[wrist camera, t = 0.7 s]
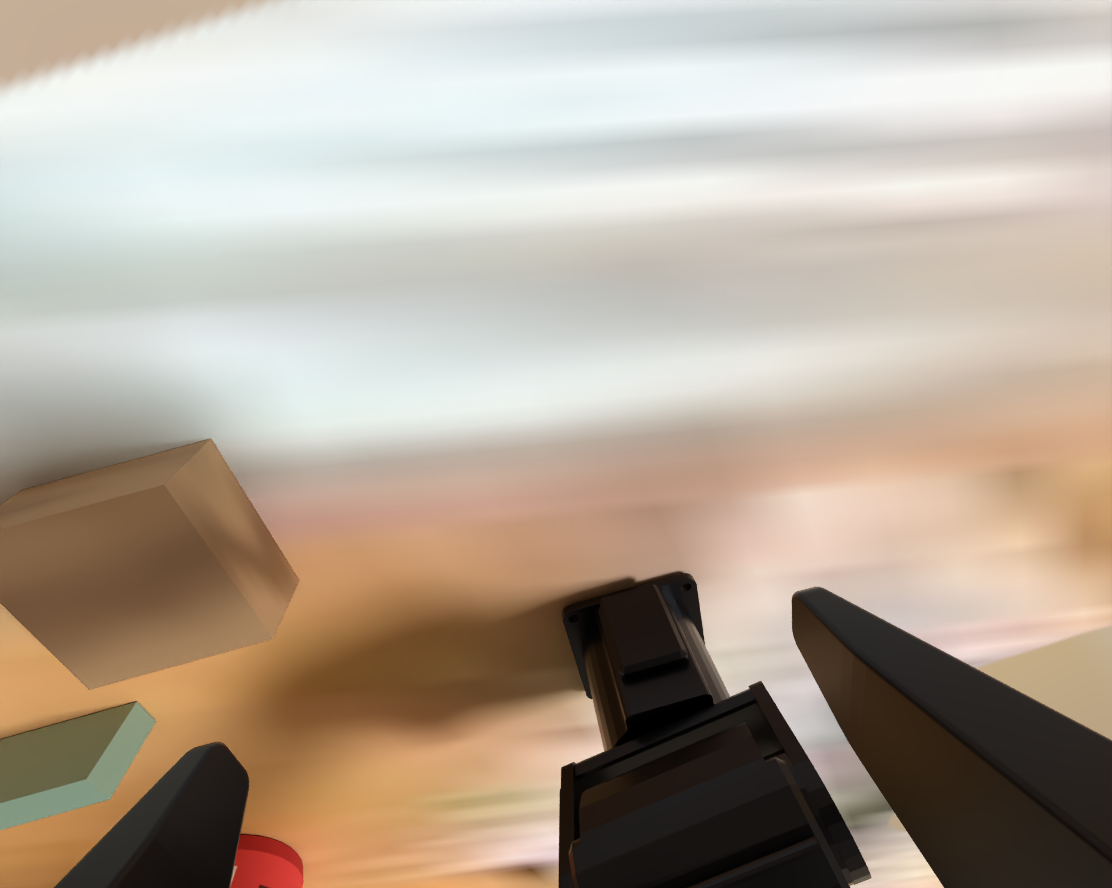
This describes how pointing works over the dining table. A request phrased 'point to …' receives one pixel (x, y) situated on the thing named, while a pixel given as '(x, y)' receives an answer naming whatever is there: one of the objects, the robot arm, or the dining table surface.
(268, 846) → the canned food
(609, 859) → the robot arm
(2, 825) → the box
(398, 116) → the dining table surface
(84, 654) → the tan wooden block
